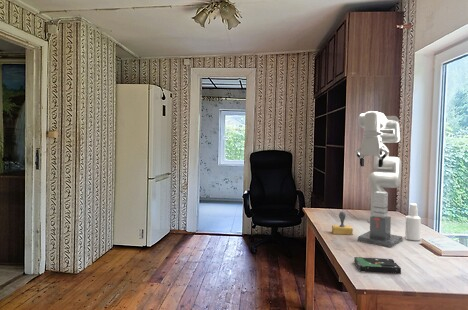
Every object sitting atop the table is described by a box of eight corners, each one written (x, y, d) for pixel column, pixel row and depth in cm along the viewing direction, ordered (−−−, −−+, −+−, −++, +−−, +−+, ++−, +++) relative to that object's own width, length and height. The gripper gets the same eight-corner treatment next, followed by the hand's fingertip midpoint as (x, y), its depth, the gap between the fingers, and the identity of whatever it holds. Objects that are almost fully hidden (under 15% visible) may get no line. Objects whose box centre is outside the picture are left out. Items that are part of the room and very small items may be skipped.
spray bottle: (418, 237, 170) (419, 203, 170) (421, 241, 164) (422, 205, 163) (404, 236, 173) (404, 202, 172) (406, 239, 166) (407, 204, 166)
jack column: (376, 234, 169) (377, 191, 168) (387, 235, 165) (388, 192, 164) (372, 236, 165) (373, 192, 164) (383, 238, 161) (384, 193, 161)
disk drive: (391, 265, 132) (353, 263, 134) (392, 258, 132) (353, 256, 134) (401, 275, 122) (359, 272, 124) (401, 268, 122) (360, 265, 124)
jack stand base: (370, 234, 176) (370, 212, 176) (402, 240, 165) (402, 216, 165) (357, 240, 165) (358, 216, 164) (391, 247, 154) (392, 222, 153)
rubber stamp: (333, 234, 176) (334, 212, 176) (331, 231, 182) (332, 210, 182) (352, 235, 175) (353, 212, 175) (350, 232, 181) (350, 210, 181)
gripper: (391, 134, 172) (390, 167, 172) (359, 135, 184) (358, 166, 184) (385, 133, 167) (385, 167, 167) (353, 134, 179) (352, 166, 179)
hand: (371, 166), depth 176 cm, fingers open, 9 cm apart
